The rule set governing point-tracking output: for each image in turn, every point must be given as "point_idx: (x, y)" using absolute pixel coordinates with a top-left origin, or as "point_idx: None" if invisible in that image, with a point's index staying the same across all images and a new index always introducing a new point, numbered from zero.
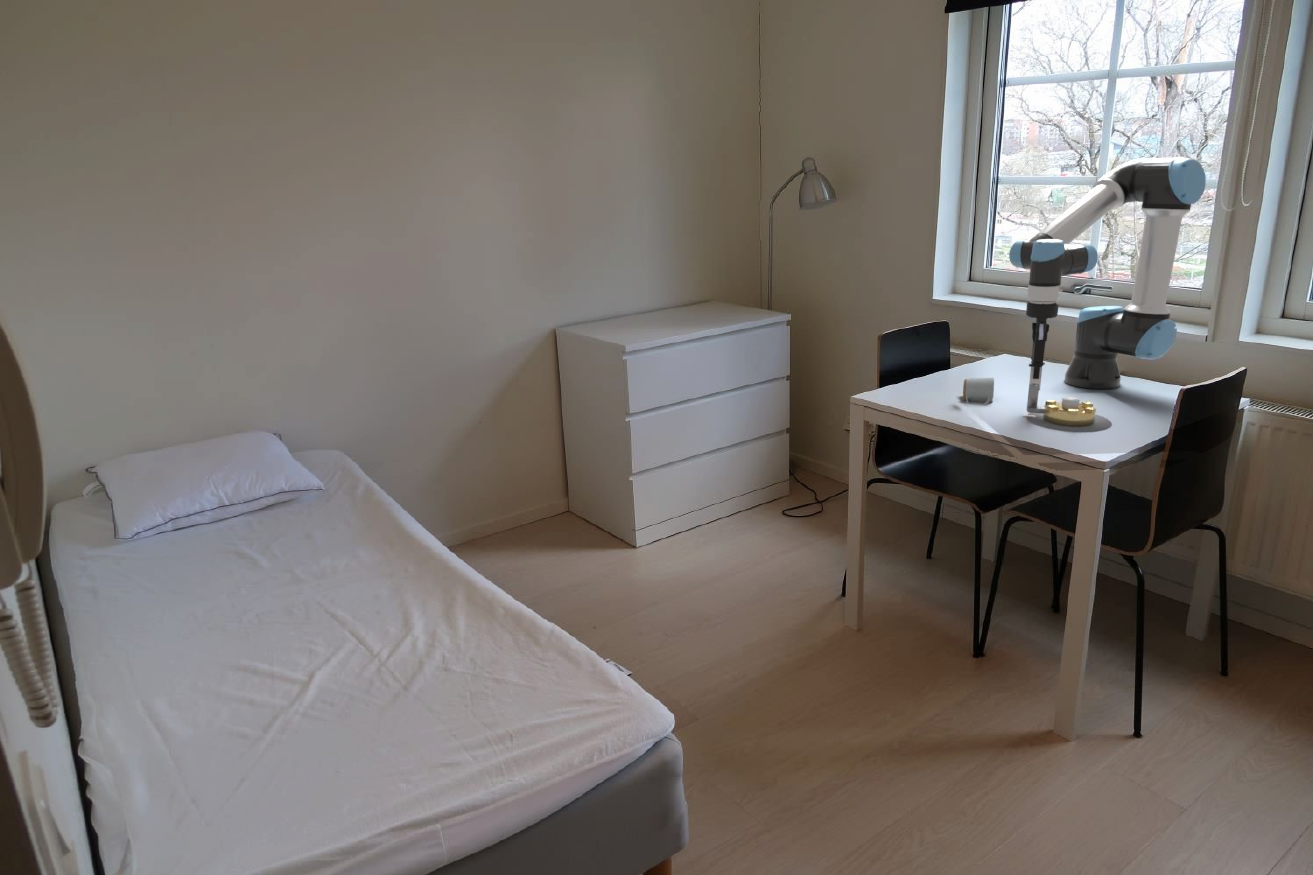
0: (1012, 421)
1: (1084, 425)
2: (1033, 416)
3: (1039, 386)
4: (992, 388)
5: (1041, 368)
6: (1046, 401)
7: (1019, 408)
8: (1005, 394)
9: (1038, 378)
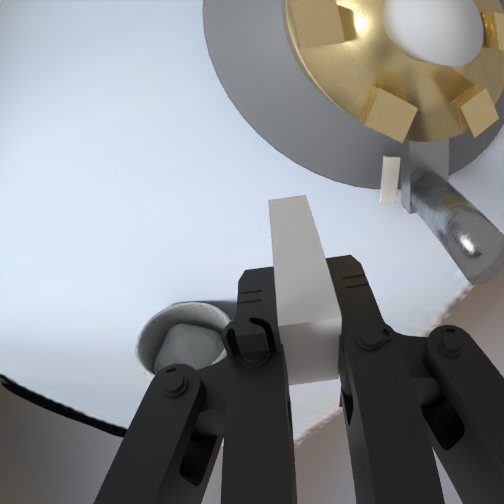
0: (383, 222)
1: None
2: (400, 165)
3: (310, 213)
4: (225, 356)
5: (335, 307)
6: (402, 138)
7: (191, 222)
8: (58, 281)
9: (354, 260)
